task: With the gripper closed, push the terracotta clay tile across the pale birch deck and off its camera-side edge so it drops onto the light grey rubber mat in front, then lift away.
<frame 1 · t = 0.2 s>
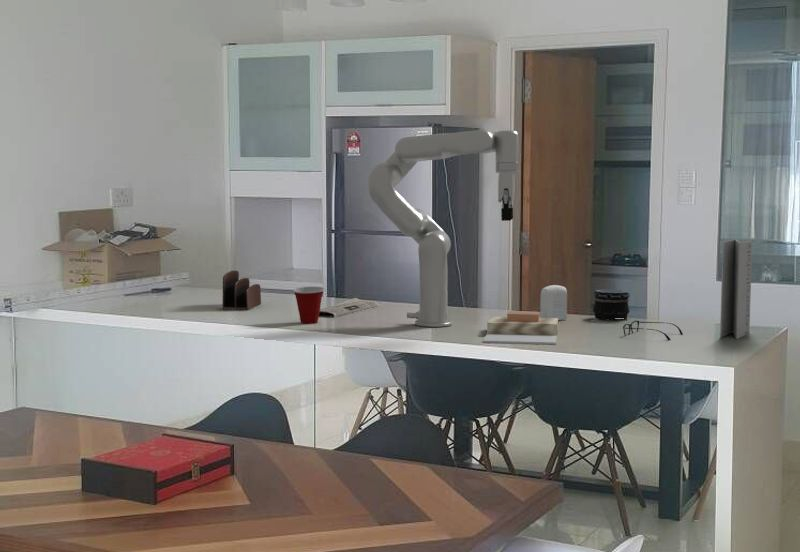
hand: (507, 219, 356), 36 cm above the table, tool pointing down, fingers open, 9 cm apart
eyeglasses: (652, 337, 340), on the table
newspaper: (344, 312, 400), on the table
mat: (520, 340, 331), on the table
letter holder: (242, 308, 412), on the table
tile: (523, 316, 346), point 5 cm above the table, touching deck
container: (610, 319, 379), on the table
deck: (523, 332, 346), on the table
plastic cup: (308, 323, 369), on the table
brochure: (734, 335, 341), on the table
photo printer: (553, 320, 375), on the table
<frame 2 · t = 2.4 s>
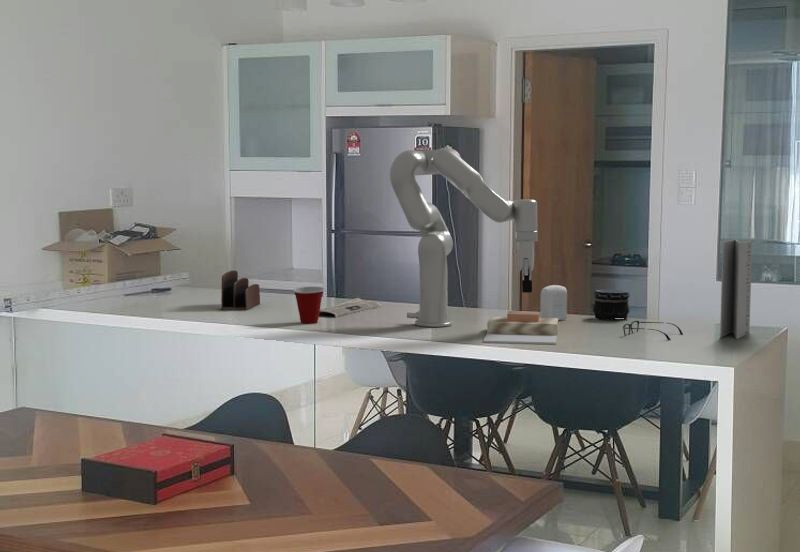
hand: (527, 292, 354), 12 cm above the table, tool pointing down, fingers closed
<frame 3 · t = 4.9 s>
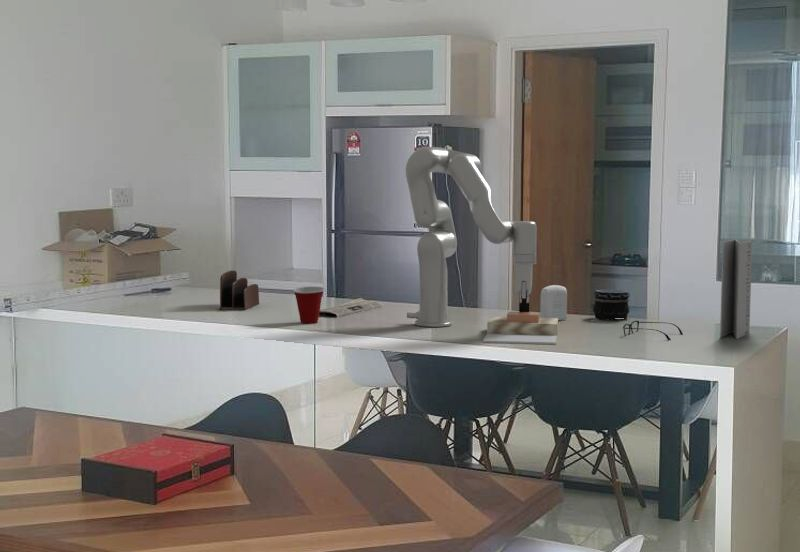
hand: (524, 315, 349), 5 cm above the table, tool pointing down, fingers closed
tile: (523, 317, 344), point 5 cm above the table, touching deck
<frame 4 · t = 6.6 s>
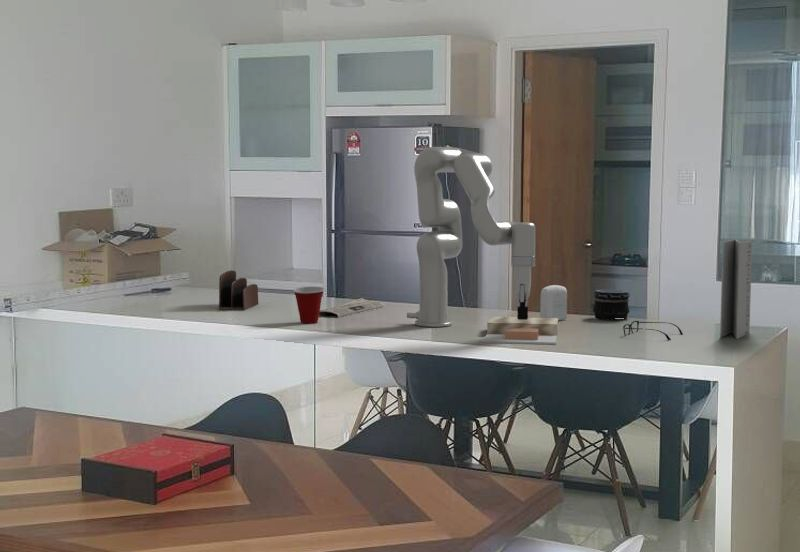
hand: (522, 319, 340), 5 cm above the table, tool pointing down, fingers closed
tile: (522, 333, 331), point 2 cm above the table, tilted 180°, touching mat
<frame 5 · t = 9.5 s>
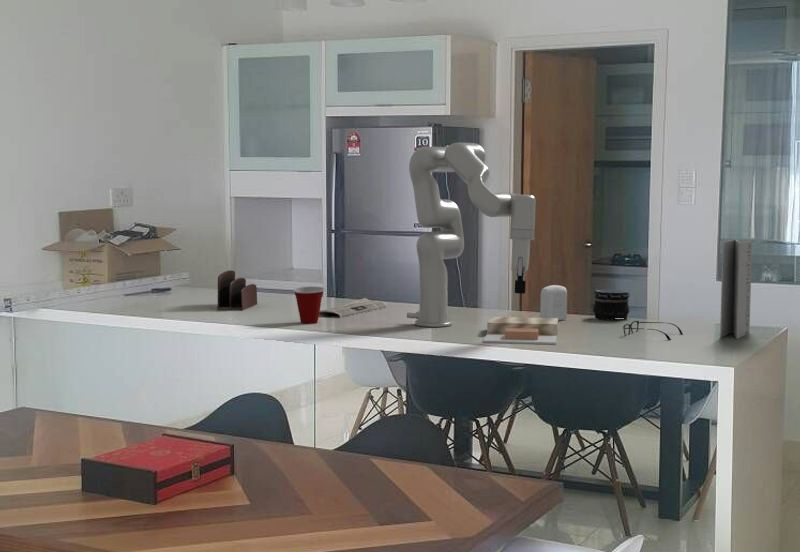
hand: (519, 293, 334), 14 cm above the table, tool pointing down, fingers closed
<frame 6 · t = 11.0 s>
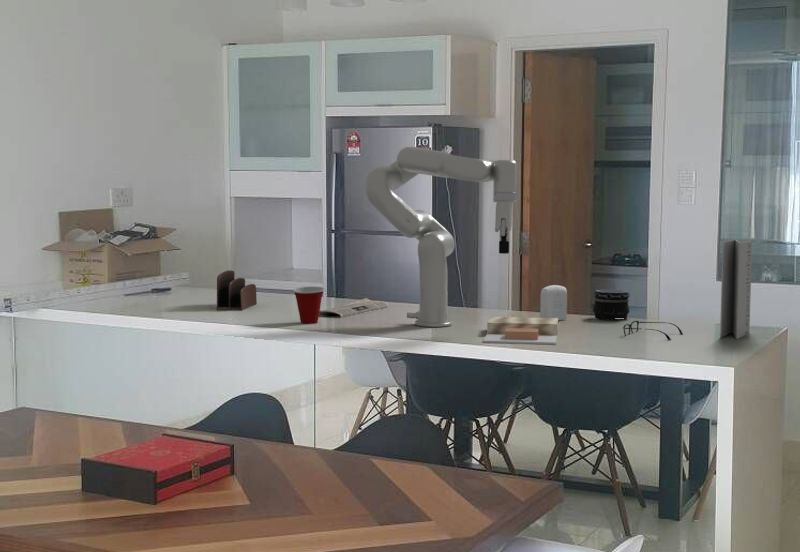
hand: (504, 253, 353), 25 cm above the table, tool pointing down, fingers closed
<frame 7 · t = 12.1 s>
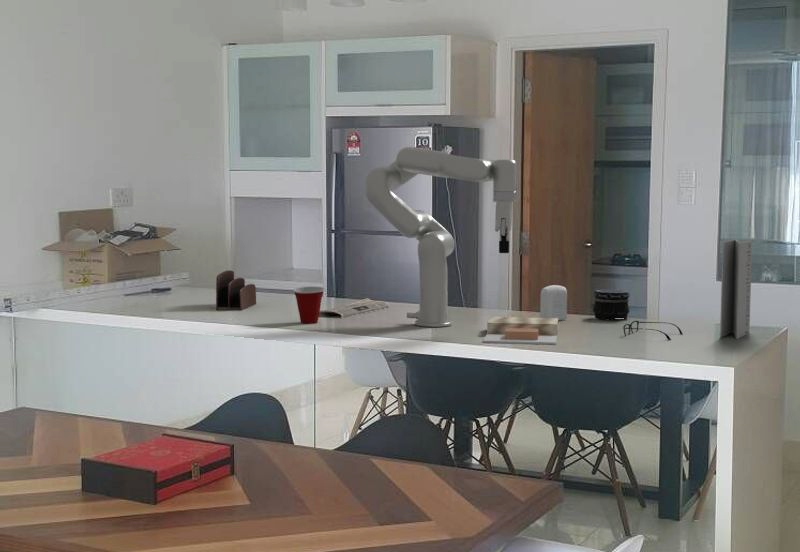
hand: (504, 252, 353), 25 cm above the table, tool pointing down, fingers closed
at the end: tile inside the target area (0.8 cm from its centre), point 1.8 cm above the table; tile touching mat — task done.
